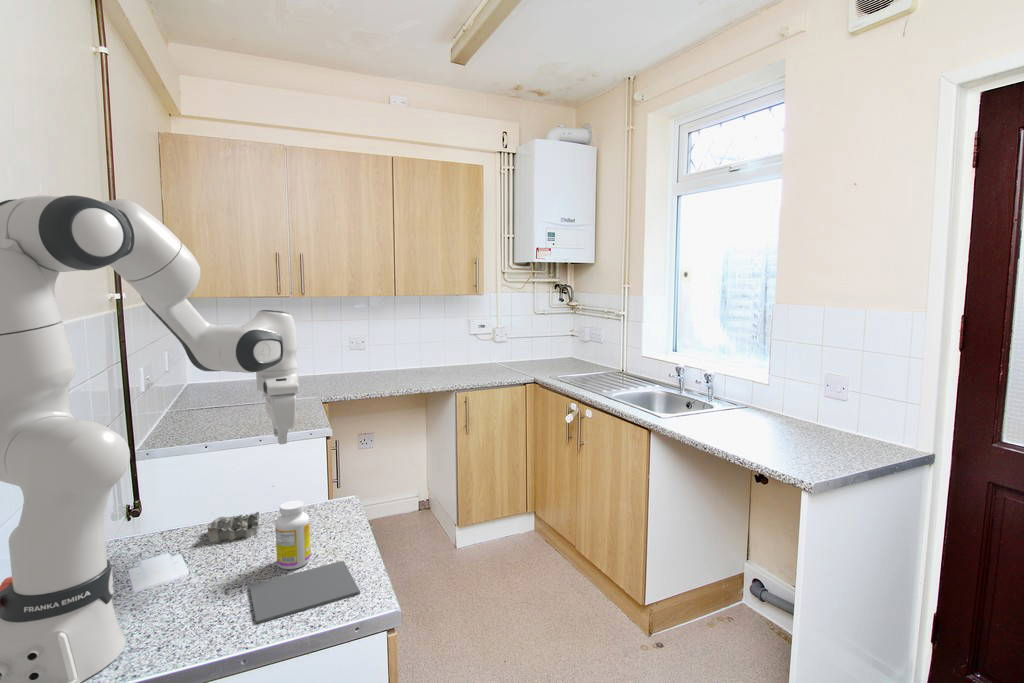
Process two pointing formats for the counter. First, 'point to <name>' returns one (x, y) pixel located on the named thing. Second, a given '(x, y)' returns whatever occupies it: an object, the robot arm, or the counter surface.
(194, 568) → the counter surface
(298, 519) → the supplement bottle
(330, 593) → the mat
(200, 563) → the counter surface
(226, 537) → the egg carton
